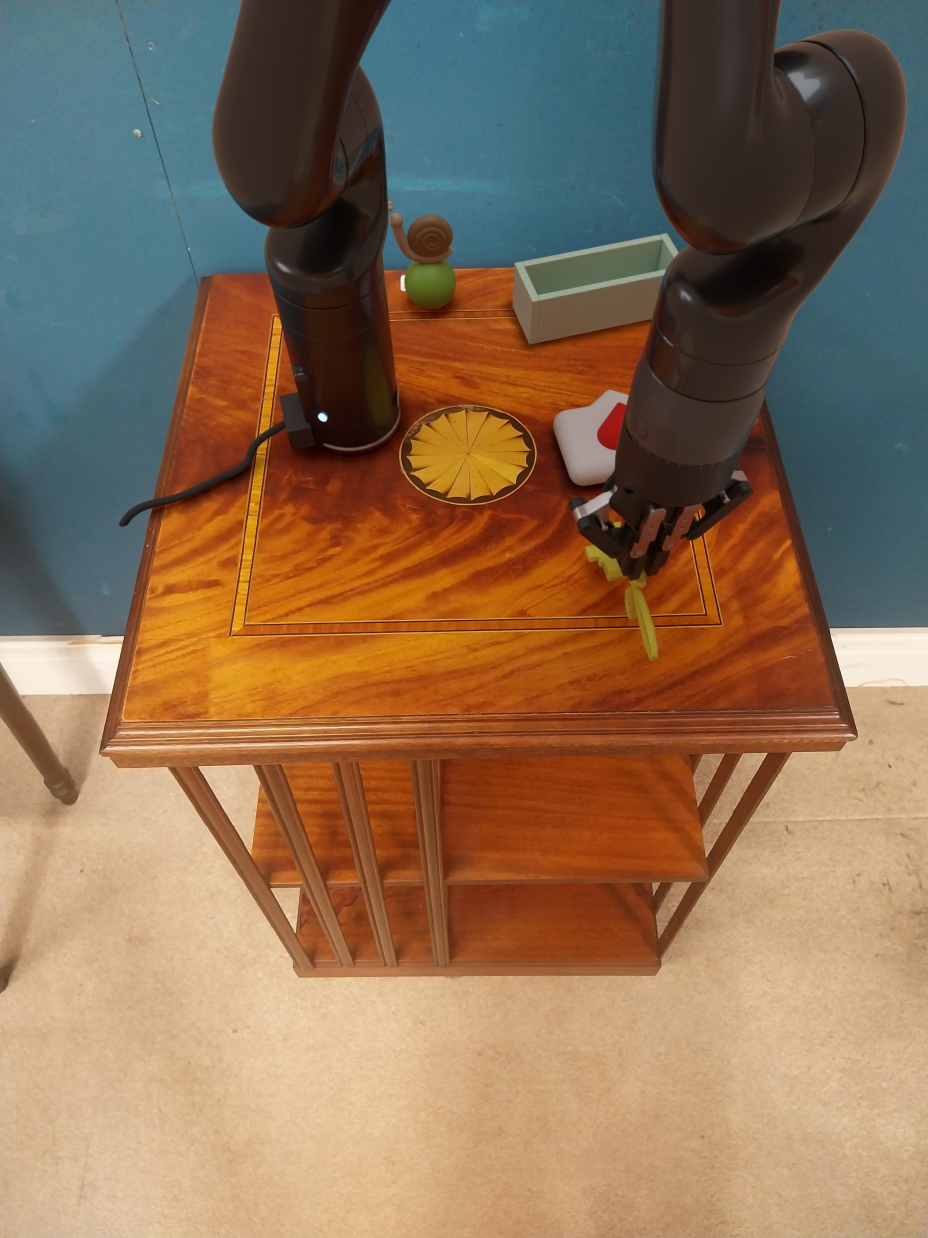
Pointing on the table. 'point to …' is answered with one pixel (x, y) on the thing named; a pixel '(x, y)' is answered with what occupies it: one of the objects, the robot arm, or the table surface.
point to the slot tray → (590, 288)
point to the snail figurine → (426, 259)
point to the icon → (591, 438)
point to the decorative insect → (629, 597)
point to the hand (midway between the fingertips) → (638, 568)
